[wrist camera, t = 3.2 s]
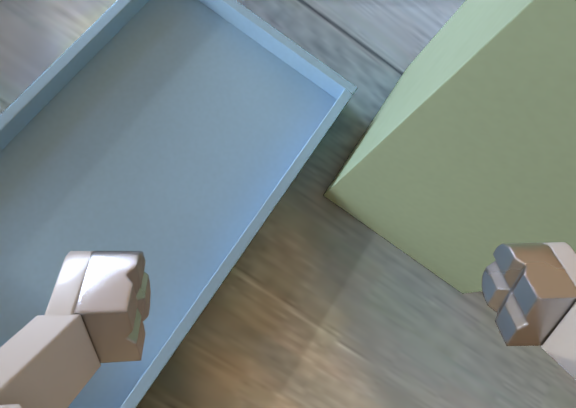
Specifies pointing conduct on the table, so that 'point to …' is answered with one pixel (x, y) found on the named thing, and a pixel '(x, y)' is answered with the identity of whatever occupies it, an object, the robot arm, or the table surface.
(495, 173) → the plinth
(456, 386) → the table surface
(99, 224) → the tray
